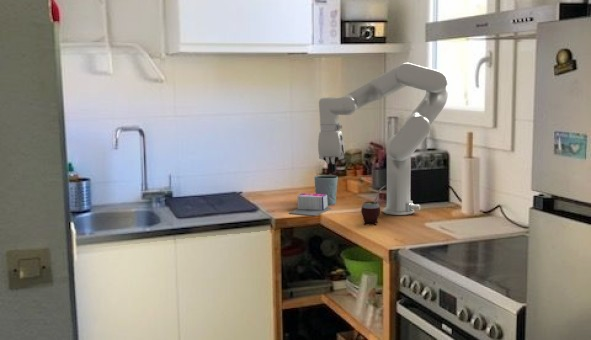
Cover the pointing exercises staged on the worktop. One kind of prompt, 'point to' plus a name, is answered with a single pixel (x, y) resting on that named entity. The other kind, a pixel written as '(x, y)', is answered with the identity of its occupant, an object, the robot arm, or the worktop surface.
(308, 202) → the supplement box
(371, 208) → the mate gourd
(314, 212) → the mat
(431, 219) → the worktop surface
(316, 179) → the grey plant pot
